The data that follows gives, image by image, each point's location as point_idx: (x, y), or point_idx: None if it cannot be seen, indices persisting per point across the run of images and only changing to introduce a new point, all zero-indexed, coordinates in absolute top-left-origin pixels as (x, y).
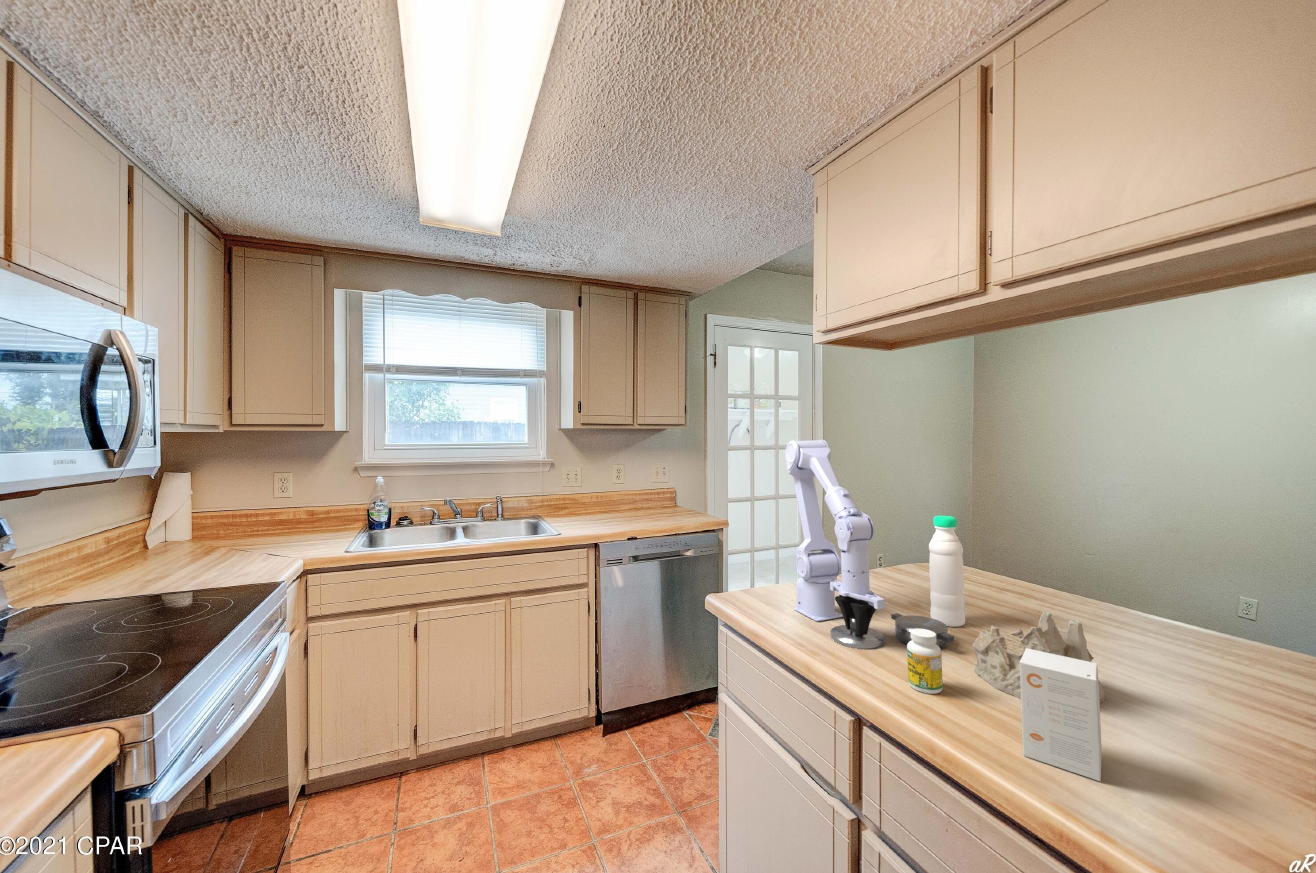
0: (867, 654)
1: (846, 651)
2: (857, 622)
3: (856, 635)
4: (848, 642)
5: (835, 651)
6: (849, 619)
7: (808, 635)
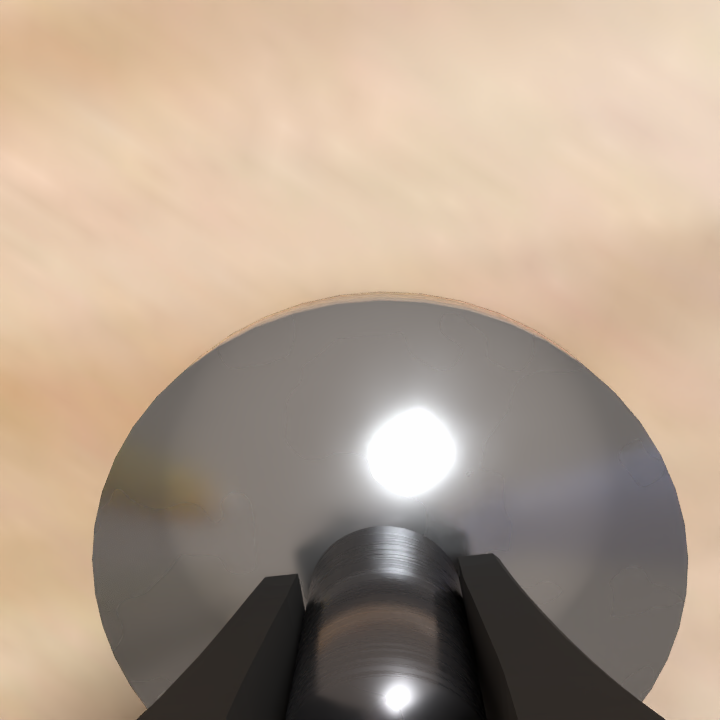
0: (4, 436)
1: (104, 268)
2: (205, 677)
3: (322, 560)
4: (194, 374)
5: (124, 140)
6: (488, 674)
7: (665, 59)
